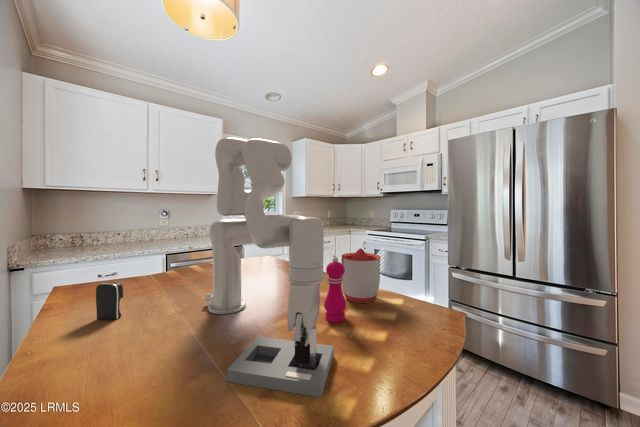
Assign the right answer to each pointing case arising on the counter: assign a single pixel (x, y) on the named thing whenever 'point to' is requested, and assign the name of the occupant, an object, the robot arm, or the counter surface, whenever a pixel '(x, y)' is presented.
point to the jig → (280, 367)
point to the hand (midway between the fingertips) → (305, 354)
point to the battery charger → (108, 300)
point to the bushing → (312, 350)
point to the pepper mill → (335, 292)
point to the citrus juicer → (361, 276)
